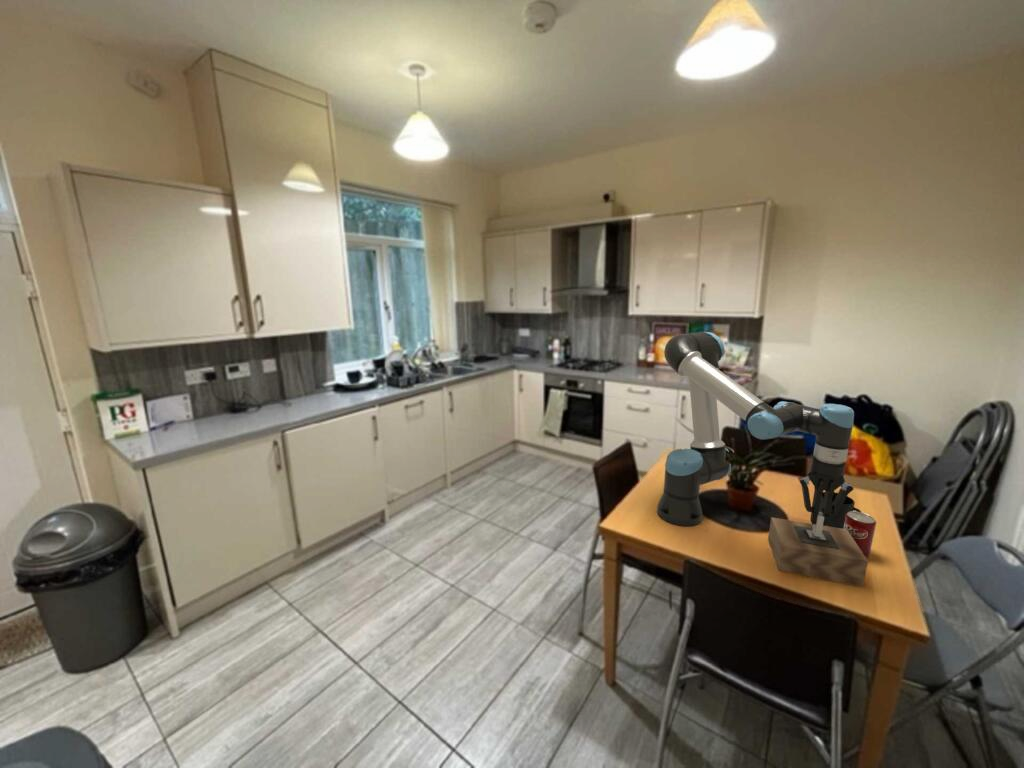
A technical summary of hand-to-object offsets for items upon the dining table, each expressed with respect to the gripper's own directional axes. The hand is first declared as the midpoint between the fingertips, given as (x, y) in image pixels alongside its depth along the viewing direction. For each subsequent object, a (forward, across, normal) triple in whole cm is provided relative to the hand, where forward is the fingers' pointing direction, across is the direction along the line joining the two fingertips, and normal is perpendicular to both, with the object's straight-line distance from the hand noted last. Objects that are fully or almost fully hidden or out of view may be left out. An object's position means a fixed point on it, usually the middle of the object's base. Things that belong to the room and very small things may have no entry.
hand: (816, 534), depth 125 cm
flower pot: (+9, -22, +60) cm, 64 cm away
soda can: (+9, +13, +10) cm, 19 cm away
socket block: (+9, 0, 0) cm, 9 cm away
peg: (+8, 0, 0) cm, 8 cm away
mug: (+9, +14, +27) cm, 32 cm away
